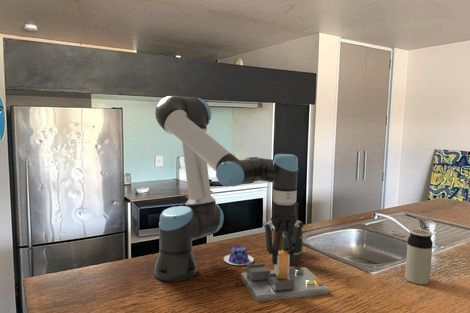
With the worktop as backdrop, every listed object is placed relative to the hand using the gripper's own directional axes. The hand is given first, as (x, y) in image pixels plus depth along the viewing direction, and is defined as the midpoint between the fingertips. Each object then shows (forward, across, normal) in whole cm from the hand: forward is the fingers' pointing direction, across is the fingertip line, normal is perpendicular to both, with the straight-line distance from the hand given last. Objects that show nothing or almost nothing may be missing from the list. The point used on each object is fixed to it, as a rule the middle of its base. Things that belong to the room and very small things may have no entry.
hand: (281, 272), depth 121 cm
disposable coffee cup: (+7, +15, +35) cm, 39 cm away
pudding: (+7, -6, +29) cm, 30 cm away
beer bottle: (+7, +14, +23) cm, 28 cm away
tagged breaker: (+4, 0, 0) cm, 4 cm away
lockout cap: (+1, 0, 0) cm, 1 cm away
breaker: (+4, -5, +8) cm, 11 cm away
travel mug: (+7, +52, -2) cm, 52 cm away
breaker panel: (+7, +2, +4) cm, 8 cm away
